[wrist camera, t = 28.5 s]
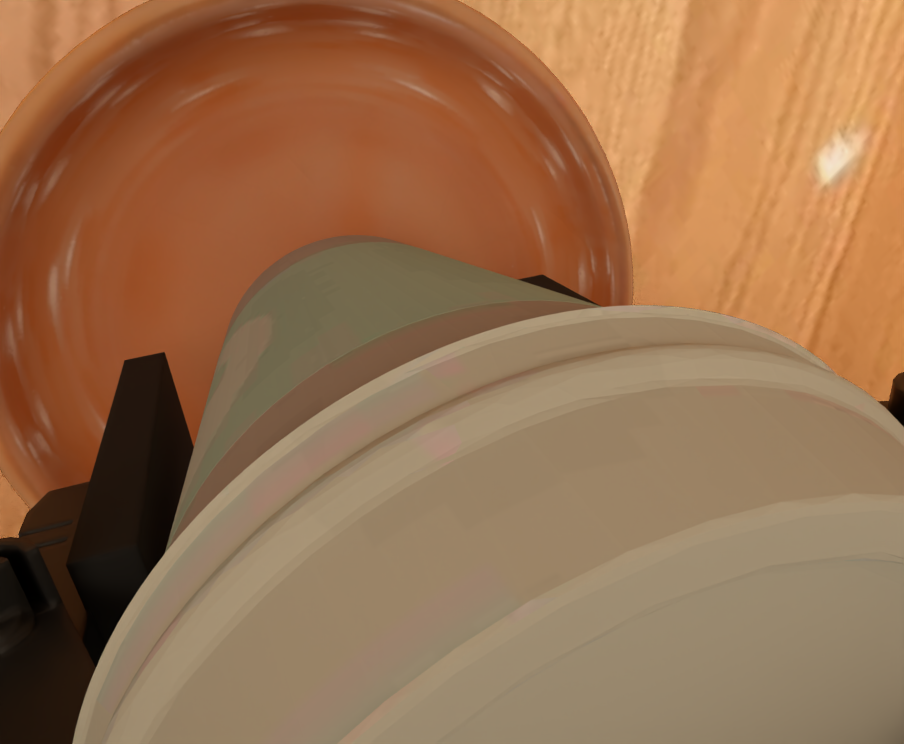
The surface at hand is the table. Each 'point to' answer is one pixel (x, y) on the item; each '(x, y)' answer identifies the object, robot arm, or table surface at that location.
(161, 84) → the saucer
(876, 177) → the table surface
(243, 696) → the coffee cup
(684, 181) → the table surface
